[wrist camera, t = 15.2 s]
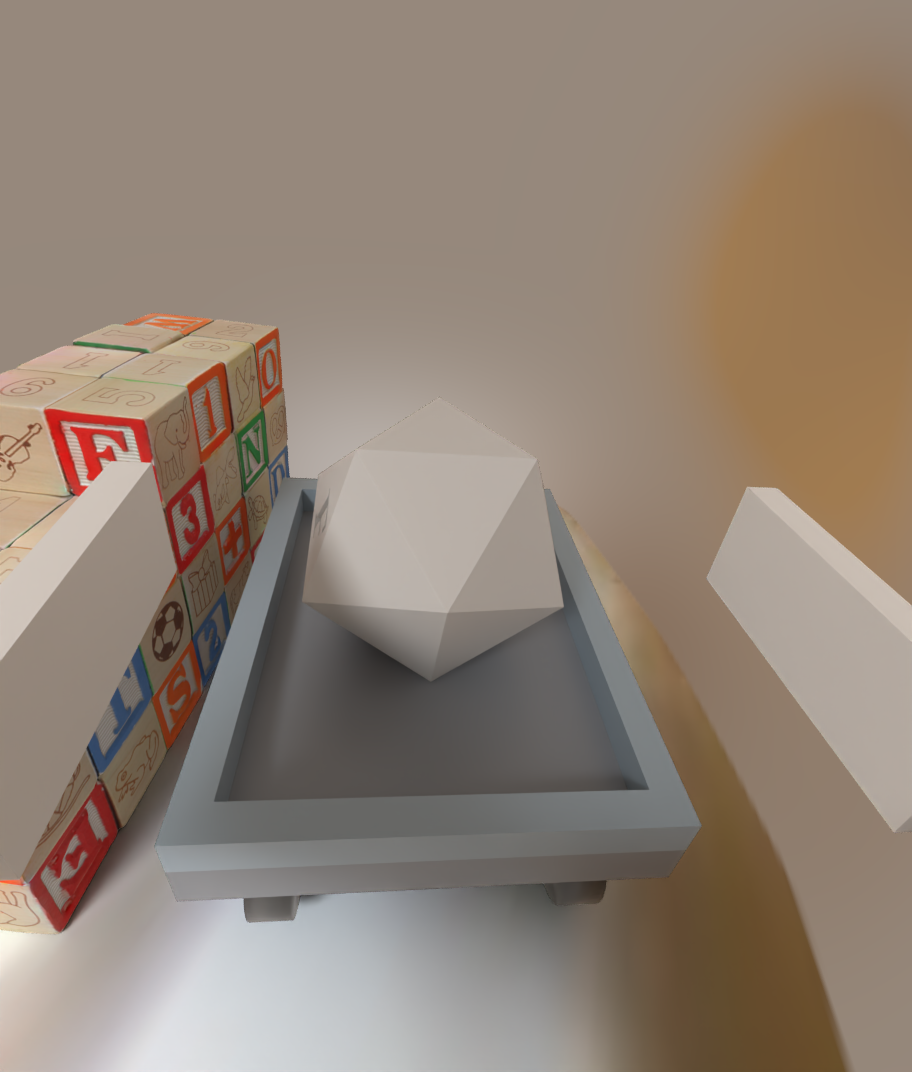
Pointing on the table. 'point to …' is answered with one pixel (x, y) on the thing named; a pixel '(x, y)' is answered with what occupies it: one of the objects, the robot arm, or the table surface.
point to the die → (433, 541)
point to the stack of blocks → (193, 527)
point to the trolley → (416, 754)
